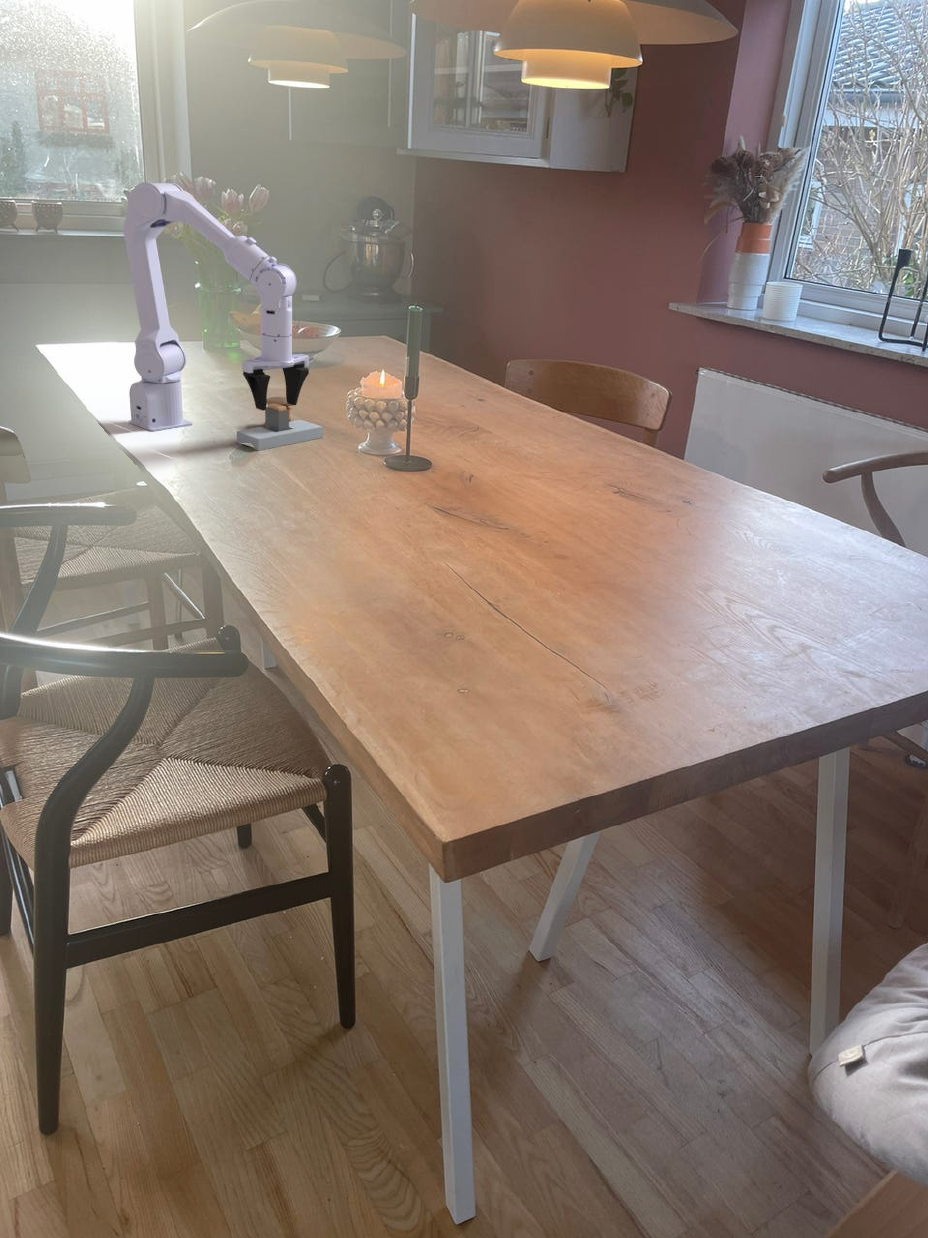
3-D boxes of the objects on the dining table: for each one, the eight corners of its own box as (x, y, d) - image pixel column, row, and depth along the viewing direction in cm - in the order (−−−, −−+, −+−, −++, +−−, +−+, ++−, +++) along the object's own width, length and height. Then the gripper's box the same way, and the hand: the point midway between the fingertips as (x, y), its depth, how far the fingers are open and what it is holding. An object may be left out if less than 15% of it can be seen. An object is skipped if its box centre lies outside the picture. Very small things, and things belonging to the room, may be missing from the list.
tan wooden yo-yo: (278, 431, 189) (278, 405, 187) (258, 424, 193) (257, 398, 191) (303, 426, 194) (303, 401, 192) (282, 419, 197) (282, 395, 195)
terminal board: (258, 450, 176) (258, 439, 175) (236, 442, 180) (236, 431, 179) (322, 437, 188) (322, 426, 187) (300, 430, 191) (300, 419, 190)
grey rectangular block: (279, 442, 183) (278, 408, 180) (265, 437, 185) (265, 404, 182) (289, 440, 184) (288, 406, 181) (275, 435, 186) (275, 402, 184)
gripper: (259, 340, 168) (260, 416, 174) (320, 334, 179) (318, 406, 185) (234, 333, 172) (235, 407, 178) (295, 328, 183) (294, 398, 189)
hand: (276, 406), depth 182 cm, fingers open, 7 cm apart
